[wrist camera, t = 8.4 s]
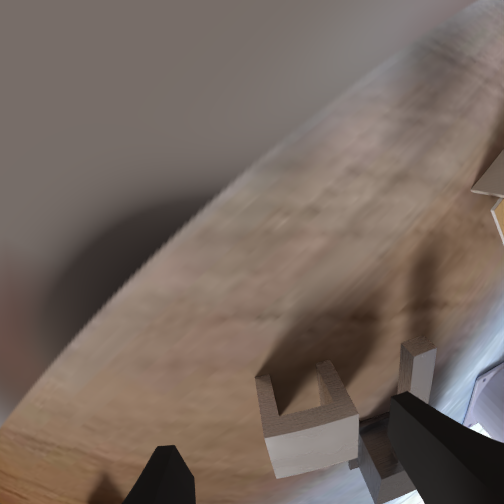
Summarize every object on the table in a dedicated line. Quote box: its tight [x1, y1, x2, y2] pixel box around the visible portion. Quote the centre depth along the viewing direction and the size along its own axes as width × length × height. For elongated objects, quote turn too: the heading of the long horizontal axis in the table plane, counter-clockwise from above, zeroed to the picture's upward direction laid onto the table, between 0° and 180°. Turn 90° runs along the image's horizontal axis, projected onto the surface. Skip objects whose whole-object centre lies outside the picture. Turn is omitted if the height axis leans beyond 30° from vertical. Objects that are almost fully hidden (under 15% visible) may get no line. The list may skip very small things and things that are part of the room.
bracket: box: [255, 360, 359, 479], centre depth 18 cm, size 5×4×6 cm
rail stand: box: [349, 335, 437, 504], centre depth 19 cm, size 6×16×6 cm, turn 11°
